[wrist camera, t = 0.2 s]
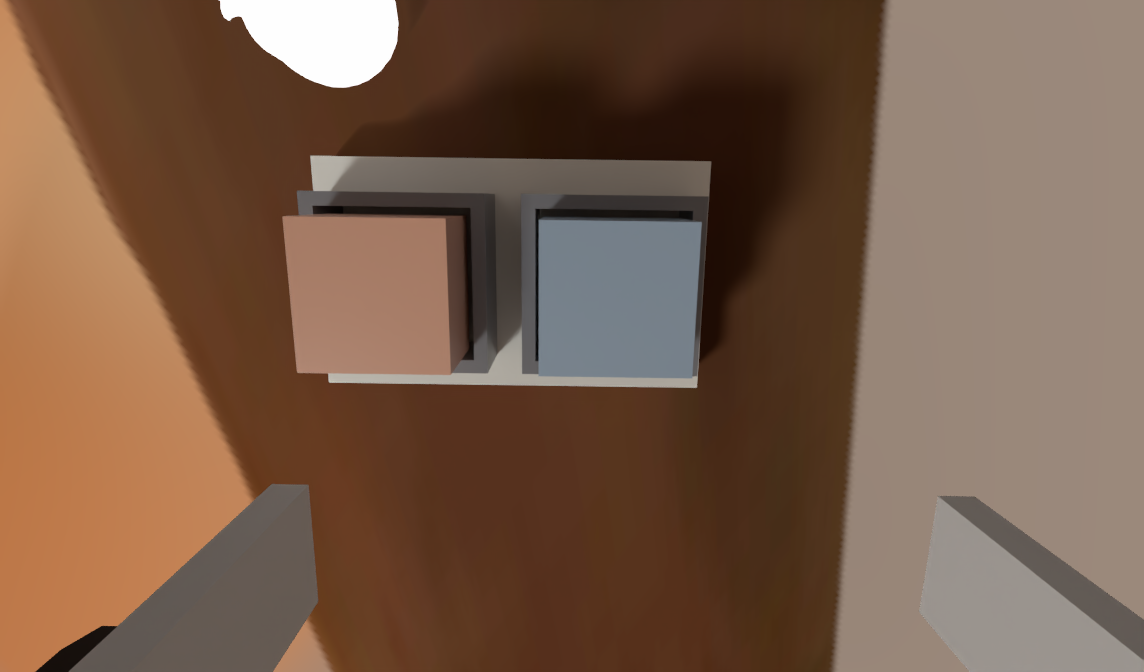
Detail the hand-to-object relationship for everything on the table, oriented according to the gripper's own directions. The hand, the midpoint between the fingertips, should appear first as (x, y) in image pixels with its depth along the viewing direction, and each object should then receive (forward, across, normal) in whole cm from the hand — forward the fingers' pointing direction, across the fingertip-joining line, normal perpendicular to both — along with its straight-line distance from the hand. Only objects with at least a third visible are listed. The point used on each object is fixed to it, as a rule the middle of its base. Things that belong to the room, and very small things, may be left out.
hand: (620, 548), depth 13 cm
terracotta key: (+20, -10, +3) cm, 22 cm away
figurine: (+26, -15, +17) cm, 34 cm away
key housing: (+26, -5, +3) cm, 26 cm away
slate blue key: (+20, +1, +3) cm, 20 cm away
